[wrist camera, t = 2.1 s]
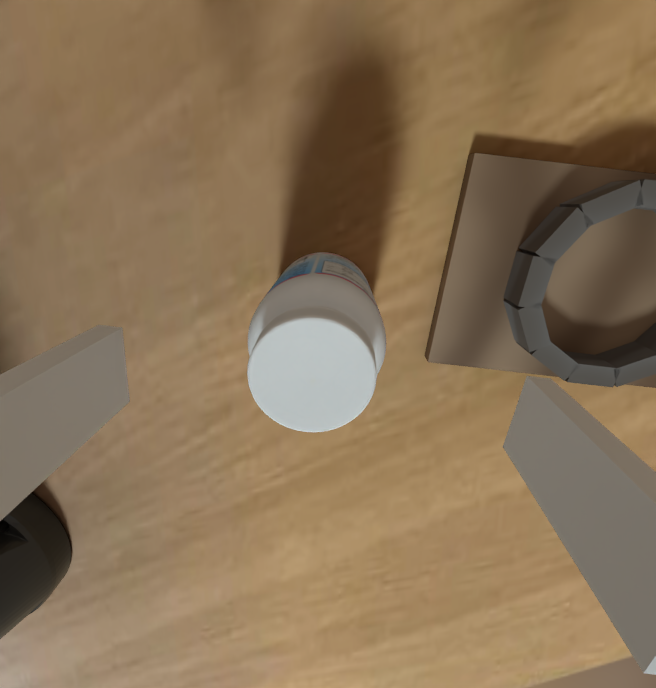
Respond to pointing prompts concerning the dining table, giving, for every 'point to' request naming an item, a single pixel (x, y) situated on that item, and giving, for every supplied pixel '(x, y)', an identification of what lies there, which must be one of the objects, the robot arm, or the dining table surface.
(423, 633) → the dining table surface
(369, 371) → the pill bottle
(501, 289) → the holder
